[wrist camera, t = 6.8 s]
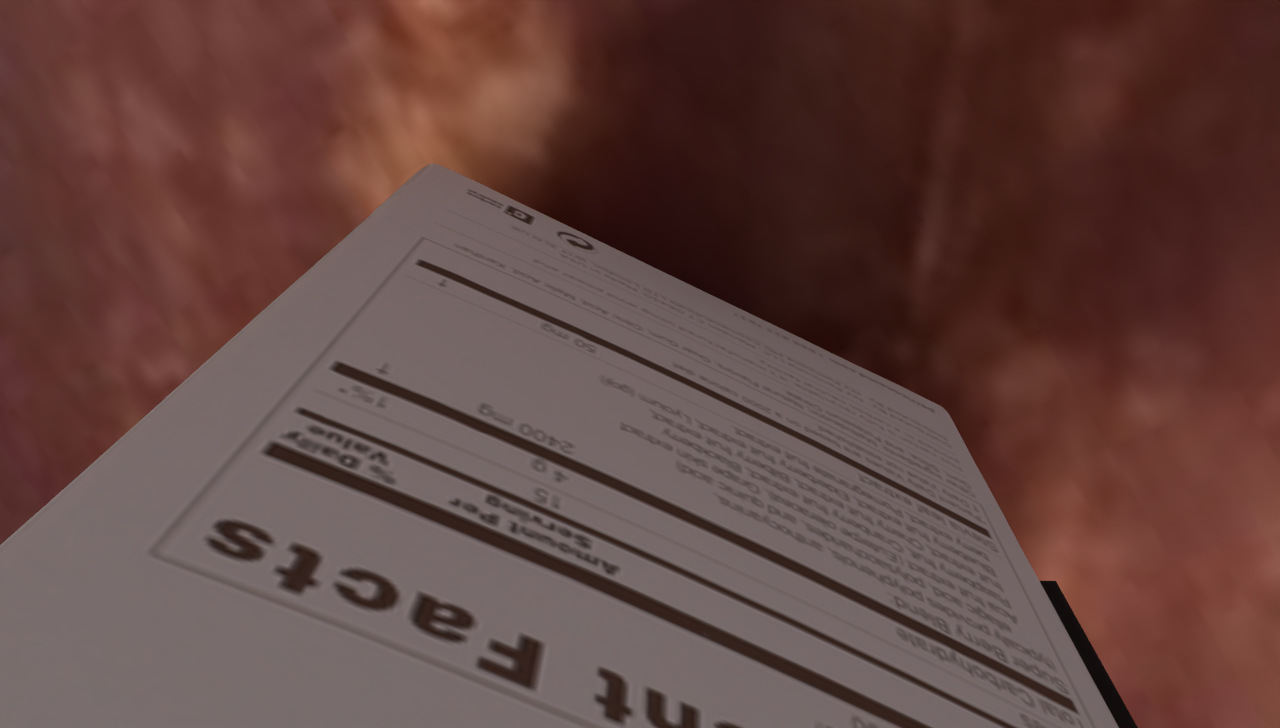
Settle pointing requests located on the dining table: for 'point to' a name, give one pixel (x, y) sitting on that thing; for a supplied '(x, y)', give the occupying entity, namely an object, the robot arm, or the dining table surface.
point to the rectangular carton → (527, 517)
